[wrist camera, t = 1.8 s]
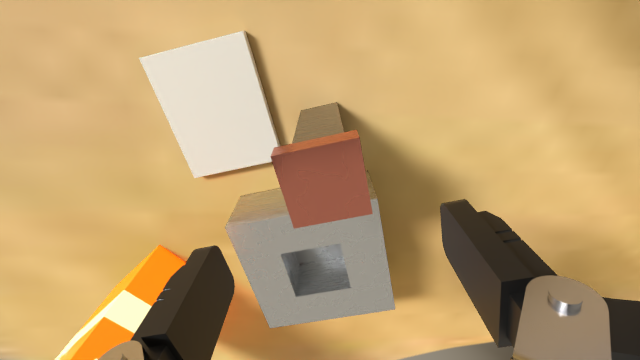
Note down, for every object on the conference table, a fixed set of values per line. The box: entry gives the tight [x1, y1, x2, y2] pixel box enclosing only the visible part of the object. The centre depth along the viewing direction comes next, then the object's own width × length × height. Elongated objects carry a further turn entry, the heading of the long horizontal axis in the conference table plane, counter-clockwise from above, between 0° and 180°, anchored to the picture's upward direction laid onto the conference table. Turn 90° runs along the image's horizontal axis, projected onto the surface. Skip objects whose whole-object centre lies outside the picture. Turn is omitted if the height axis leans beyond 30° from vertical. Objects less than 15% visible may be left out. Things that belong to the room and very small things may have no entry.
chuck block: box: [225, 171, 395, 328], centre depth 27 cm, size 12×12×5 cm
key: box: [270, 102, 373, 229], centre depth 19 cm, size 4×4×11 cm
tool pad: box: [139, 31, 280, 178], centre depth 24 cm, size 10×8×1 cm
